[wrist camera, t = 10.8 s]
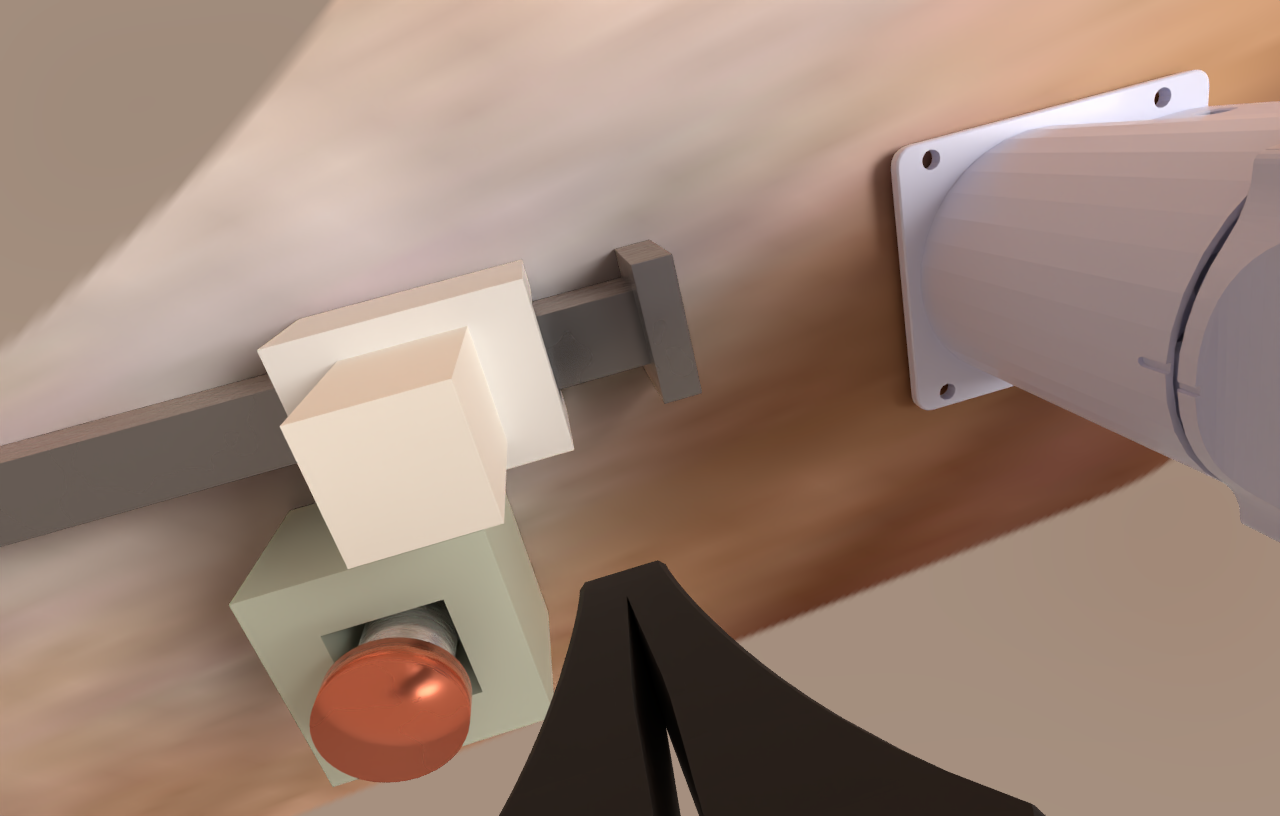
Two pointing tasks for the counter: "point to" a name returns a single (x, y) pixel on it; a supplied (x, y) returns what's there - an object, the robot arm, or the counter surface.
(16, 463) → the rail
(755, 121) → the counter surface
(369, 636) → the red push knob
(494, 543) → the box
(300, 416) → the carriage
